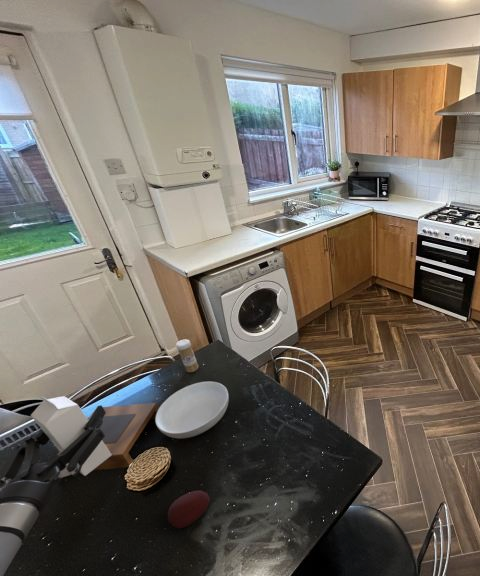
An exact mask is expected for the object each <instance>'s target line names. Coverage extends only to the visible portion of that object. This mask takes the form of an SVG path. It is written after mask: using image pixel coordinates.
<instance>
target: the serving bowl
mask: <svg viewBox="0 0 480 576" xmlns="http://www.w3.org/2000/svg"><path fill="white" fill-rule="evenodd" d="M229 399H230V397H229V391H228V389H227V387H226V386H225V385H223V384H222V383H220V382H217V381H200V382H196V383H193V384H190V385H187V386H185V387H183V388H181V389H179V390H177V391H176V392H174V393H173V394H171V395H170V396H168V398H166V399H165V400H164V402H162V404H161V405H160V406H159V407H158V408H159V409H158V411H157V414H156V418H155V419H154V422H155V425H156V427H157V428H158V430H159V431H160V432H161V434H164V435H165V436H167V437H169V438H172V439H189V438H193V437H196V436H199V435H201V434H203V433H205V432H206V431H207V432H208V431H209V430H210V429H212V428H213V427H214V426H215V425H217V423H219V422H220V421H221V419H222V418H223V417H224V415H225V413H226V411H227V409H228V406H229V402H230V401H229Z"/></svg>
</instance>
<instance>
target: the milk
mask: <svg viewBox="0 0 480 576" xmlns="http://www.w3.org/2000/svg"><path fill="white" fill-rule="evenodd" d="M40 398H41V399H42V401H41V402H40V404H39V405H38V406H37V407H36V408H35V410H34V411H33V412H32V413H30V417H31V418H32V419H33V420H34V422H35V423H36V424H37V425H38V427H39V428H40V429H42V430H43V431H44V433H45V434H46V435H47V436H48V438H49V441H51V443H52V444H53V446H54V447H55V448H56V449H57V450H58V452H62V451H64V450H65V449H66V448H67V447H68V446H69V445H70V444H71V443H72V442H74V441H75V440H76V439H77V438H78V437H79V436H80V435H81V434H83V433H84V432H85V431H86V430H85V429H84V427H85V426H86V424H87V422H88V421H89V420H88V417H87V416H86V414H85V413H84V411H83V410H82V409H81V407H80V406H79V404H78V403H76V402H74V401H72V400H71V399H70V398H68V397H66V396H64V395H63V396H57V397H52V398H46V397H44V396H42V395H40ZM111 455H112V454H111V453H110V451H109V450H108V448H107V447H106V445H105V444H104V442H103V441H101V442H100V443H99V445H98V446H97V447H96V448H95V450H94V451H93V452H92V454H91V455H90V456H89V458H88V459H87V460H86V461H85V463H84V464H83V465H82V468H81V471H80V473H79V474H81V475H83V476H84V477H86V476H87V475H88V474H90V473H91V472H93V471H92V470H94V469H95V468H96V467H97V466H99V465H100V464H101V463H102V462H104V461H105V460H106V459H108V458H109V457H110V456H111ZM94 471H95V470H94Z"/></svg>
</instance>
